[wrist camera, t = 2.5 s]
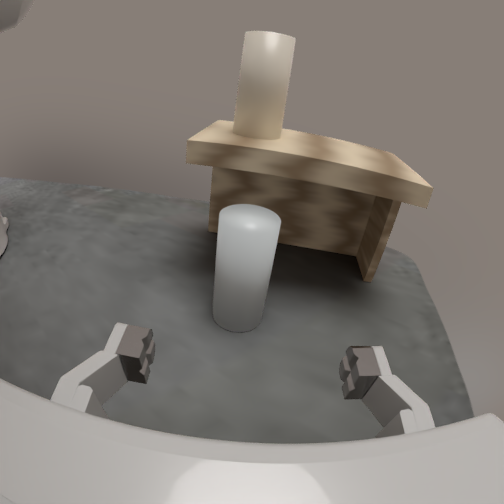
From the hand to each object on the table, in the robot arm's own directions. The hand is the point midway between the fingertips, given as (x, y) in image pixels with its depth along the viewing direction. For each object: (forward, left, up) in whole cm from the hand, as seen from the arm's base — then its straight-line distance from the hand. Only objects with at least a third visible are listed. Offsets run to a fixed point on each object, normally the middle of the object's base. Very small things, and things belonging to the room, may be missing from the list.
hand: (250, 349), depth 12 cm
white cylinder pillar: (-1, +12, -10) cm, 16 cm away
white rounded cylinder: (-2, +21, +4) cm, 22 cm away
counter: (+3, +21, -10) cm, 24 cm away
